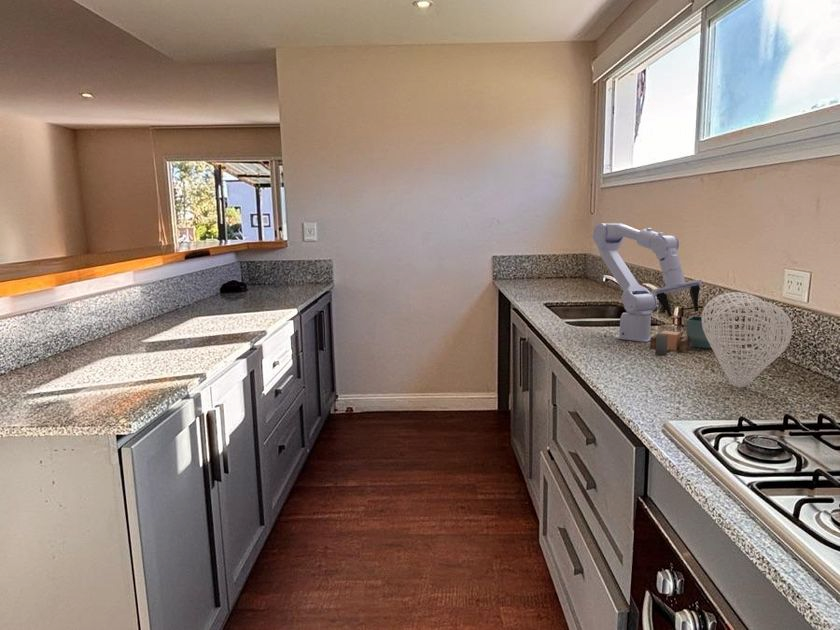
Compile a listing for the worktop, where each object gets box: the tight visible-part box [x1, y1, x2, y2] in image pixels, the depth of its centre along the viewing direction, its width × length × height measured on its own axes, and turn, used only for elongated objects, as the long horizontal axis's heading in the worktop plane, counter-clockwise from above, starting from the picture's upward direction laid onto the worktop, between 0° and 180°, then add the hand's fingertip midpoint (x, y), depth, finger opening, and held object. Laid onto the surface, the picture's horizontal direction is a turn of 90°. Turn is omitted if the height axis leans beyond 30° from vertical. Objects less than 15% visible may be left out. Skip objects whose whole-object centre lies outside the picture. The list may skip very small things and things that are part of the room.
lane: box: [649, 333, 691, 353], centre depth 179 cm, size 10×8×4 cm
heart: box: [701, 291, 793, 389], centre depth 135 cm, size 28×16×22 cm, turn 164°
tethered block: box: [655, 330, 682, 356], centre depth 175 cm, size 5×14×6 cm, turn 143°
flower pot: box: [685, 315, 720, 349], centre depth 181 cm, size 9×9×9 cm
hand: (683, 313), depth 176 cm, fingers open, 7 cm apart
